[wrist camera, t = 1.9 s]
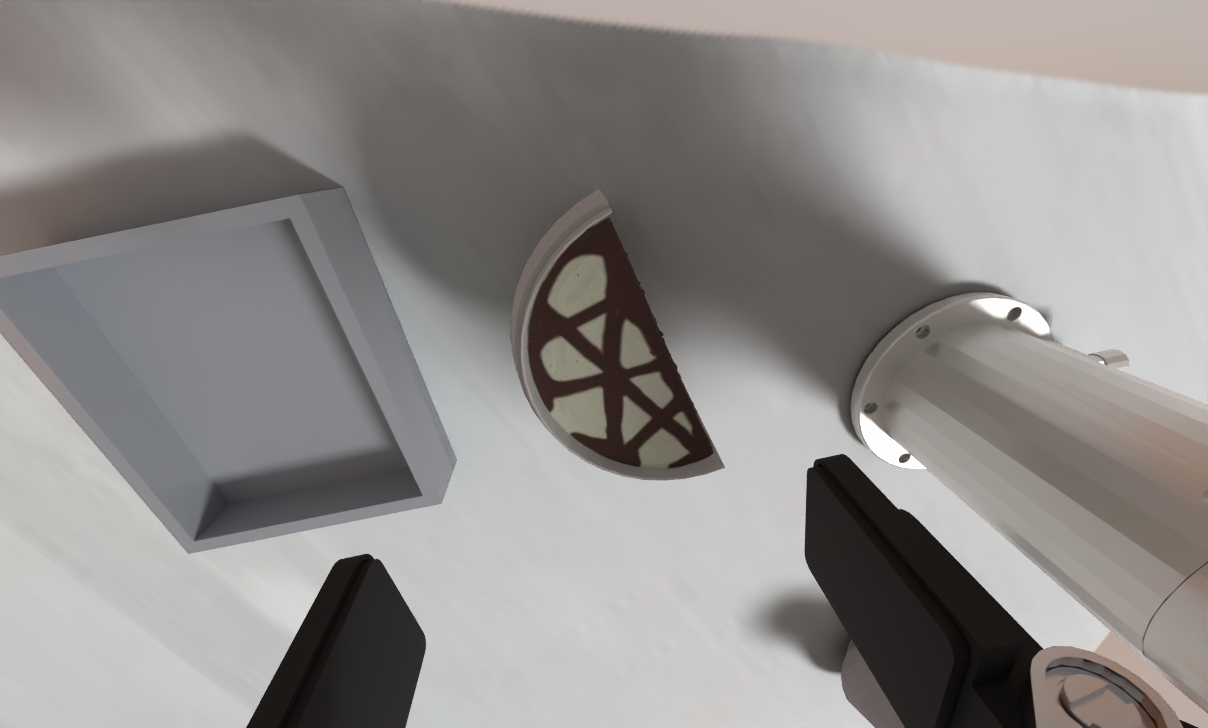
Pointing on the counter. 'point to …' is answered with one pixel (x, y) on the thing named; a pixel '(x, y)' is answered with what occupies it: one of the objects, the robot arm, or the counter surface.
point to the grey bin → (235, 368)
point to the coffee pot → (866, 691)
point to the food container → (602, 355)
